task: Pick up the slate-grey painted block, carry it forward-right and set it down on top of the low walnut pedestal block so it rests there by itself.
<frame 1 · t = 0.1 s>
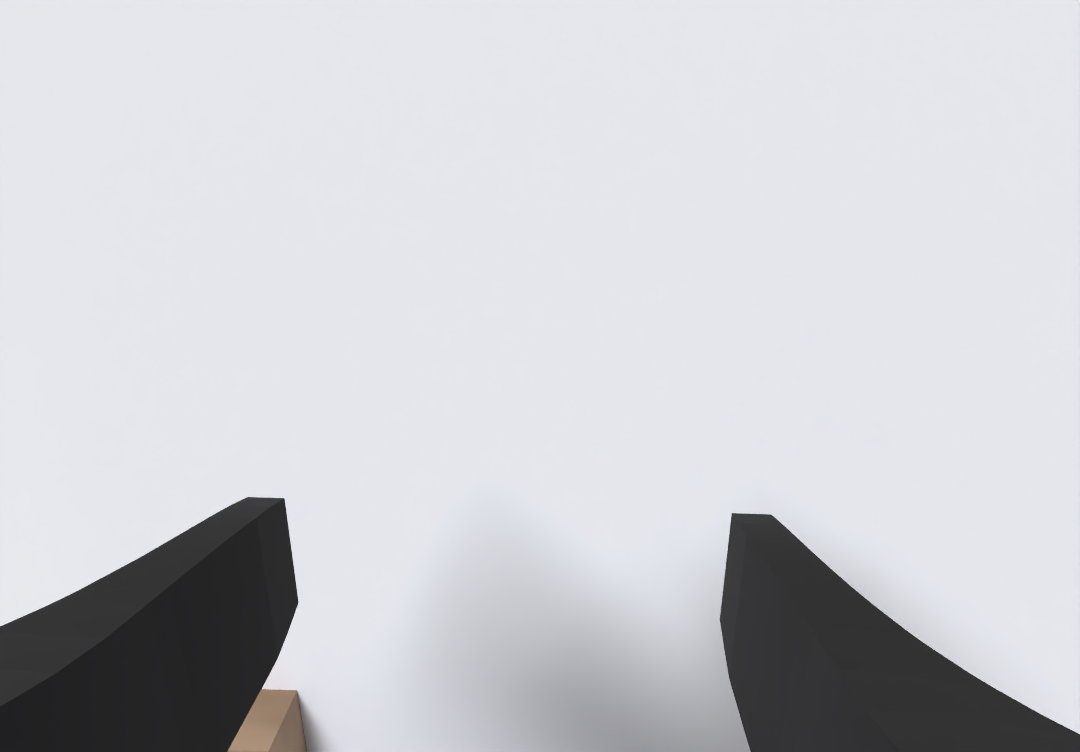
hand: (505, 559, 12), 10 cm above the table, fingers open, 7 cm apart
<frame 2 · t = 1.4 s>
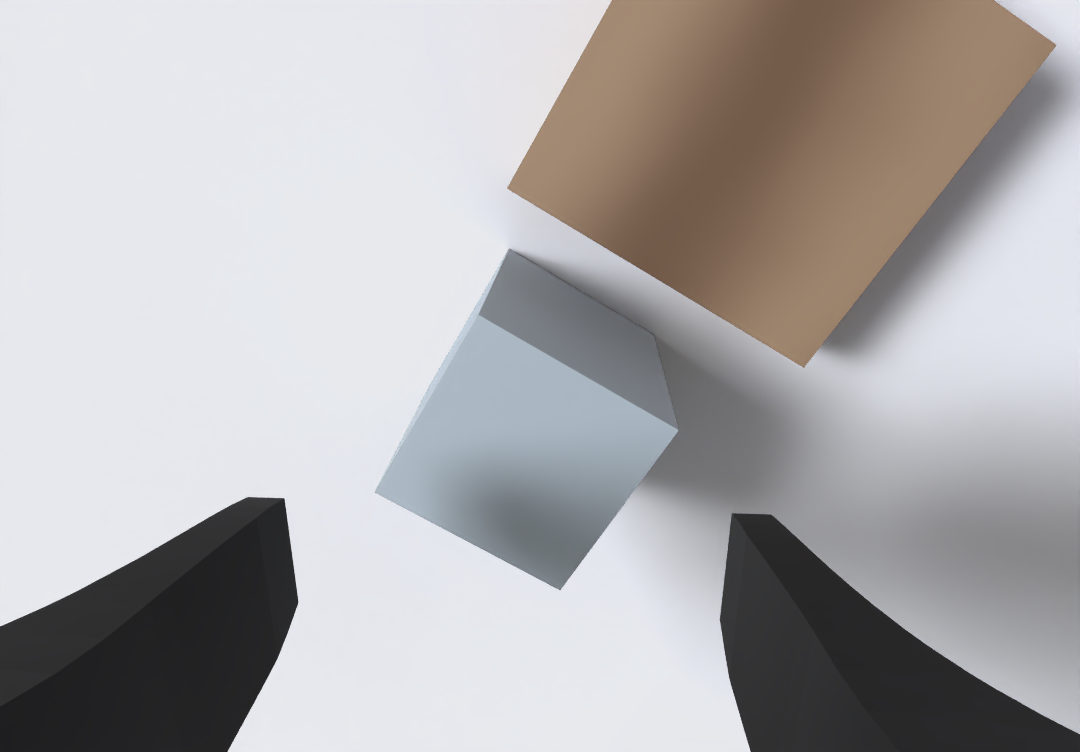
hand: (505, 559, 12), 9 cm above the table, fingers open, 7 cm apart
walnut base: (740, 114, 19), on the table
grey block: (539, 359, 21), on the table
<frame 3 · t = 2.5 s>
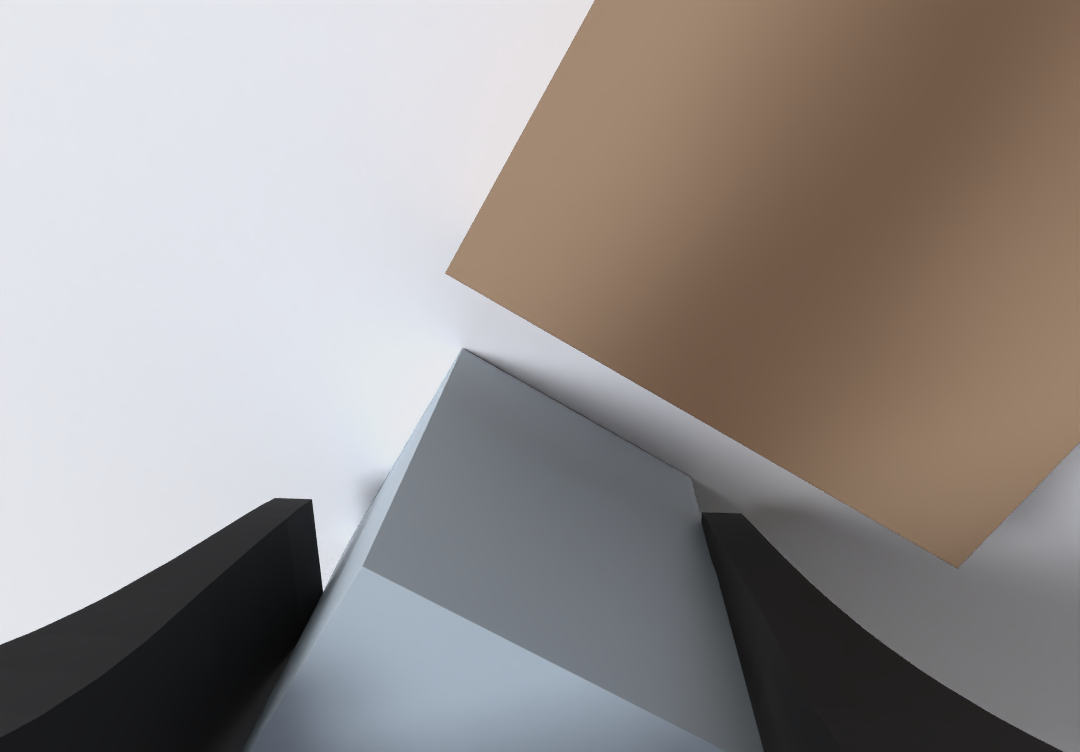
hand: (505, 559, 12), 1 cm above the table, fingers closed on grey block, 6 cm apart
walnut base: (839, 136, 11), on the table
grey block: (513, 512, 14), on the table, touching gripper
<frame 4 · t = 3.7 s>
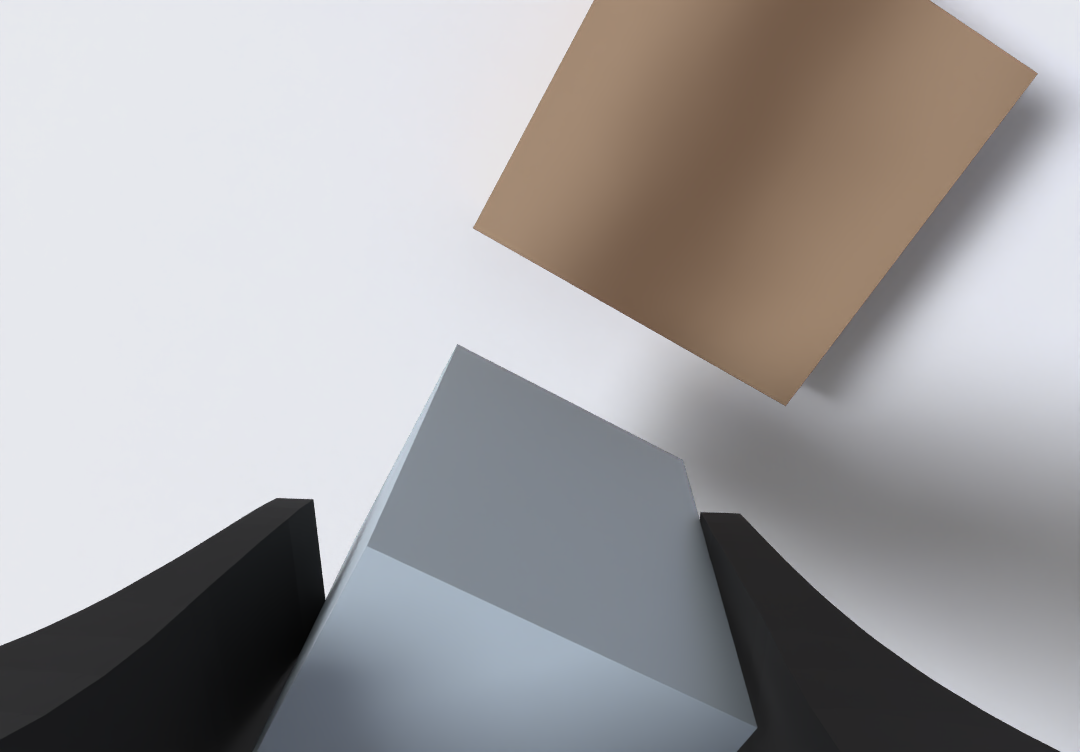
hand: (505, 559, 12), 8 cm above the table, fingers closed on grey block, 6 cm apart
walnut base: (715, 144, 18), on the table
grey block: (513, 501, 14), point 6 cm above the table, touching gripper
when the fingers open (6 cm above the table, at t = 5.2 s): grey block drops 1 cm, point 3 cm above the table.
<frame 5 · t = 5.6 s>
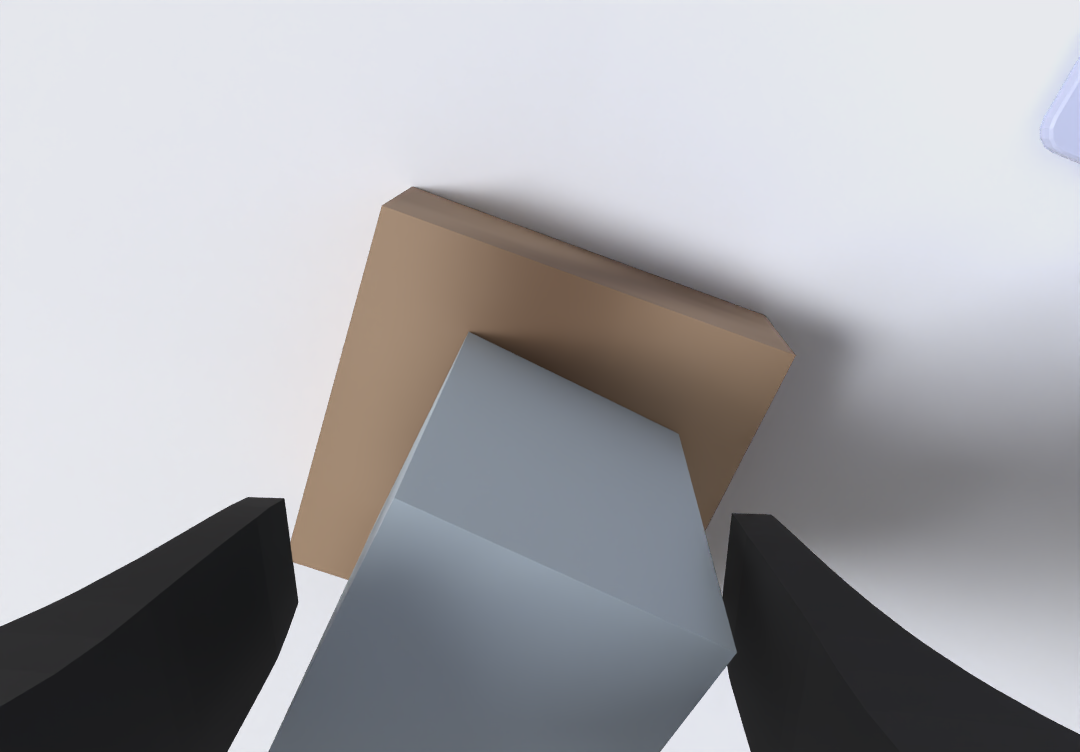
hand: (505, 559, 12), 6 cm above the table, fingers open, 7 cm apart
walnut base: (531, 405, 18), on the table
grey block: (523, 475, 15), point 3 cm above the table
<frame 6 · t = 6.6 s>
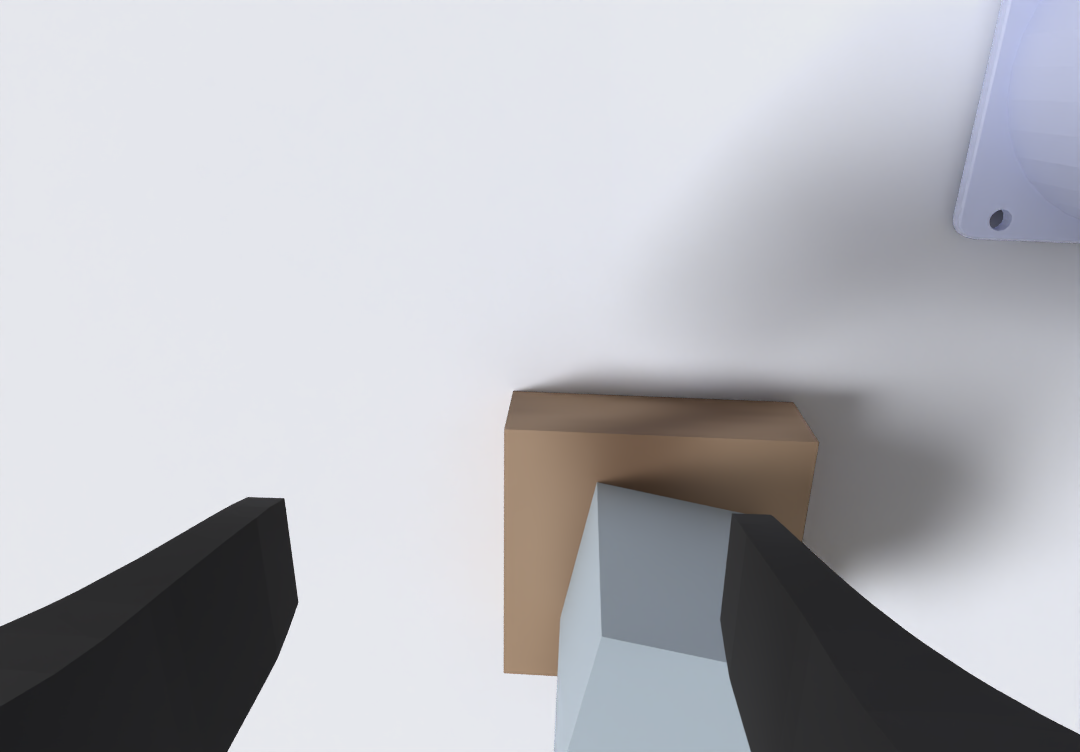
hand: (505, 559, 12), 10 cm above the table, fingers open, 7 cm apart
walnut base: (641, 509, 24), on the table
grey block: (657, 569, 21), point 3 cm above the table
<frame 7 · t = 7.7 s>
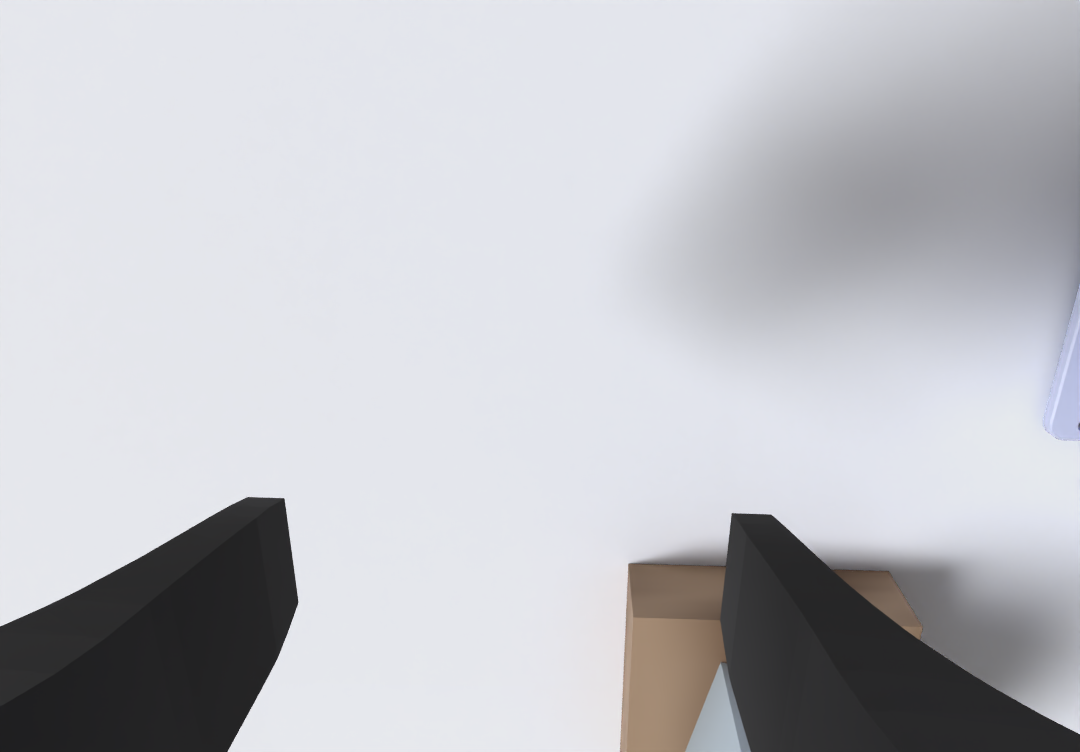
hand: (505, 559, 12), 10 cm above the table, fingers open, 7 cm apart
walnut base: (742, 659, 26), on the table, touching grey block
grey block: (770, 735, 23), point 2 cm above the table, touching walnut base
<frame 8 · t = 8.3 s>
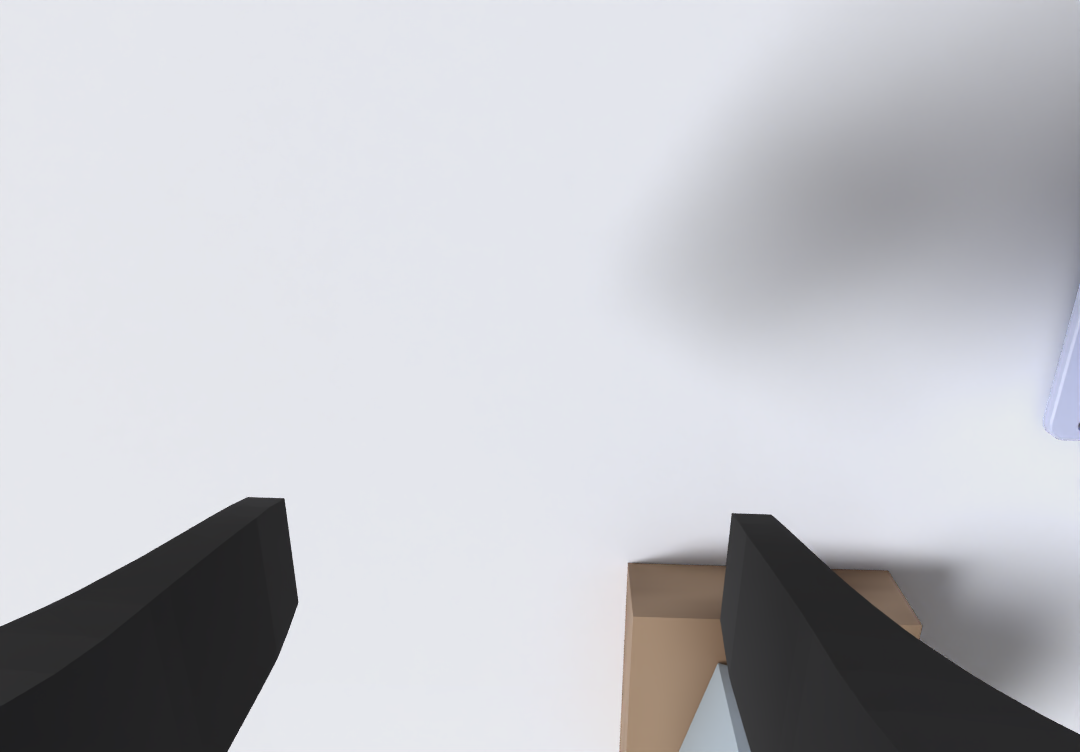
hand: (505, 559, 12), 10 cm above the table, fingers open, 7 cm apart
walnut base: (742, 658, 25), on the table
grey block: (764, 737, 23), point 3 cm above the table
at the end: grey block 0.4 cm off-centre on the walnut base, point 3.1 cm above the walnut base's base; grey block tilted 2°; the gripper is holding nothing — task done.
